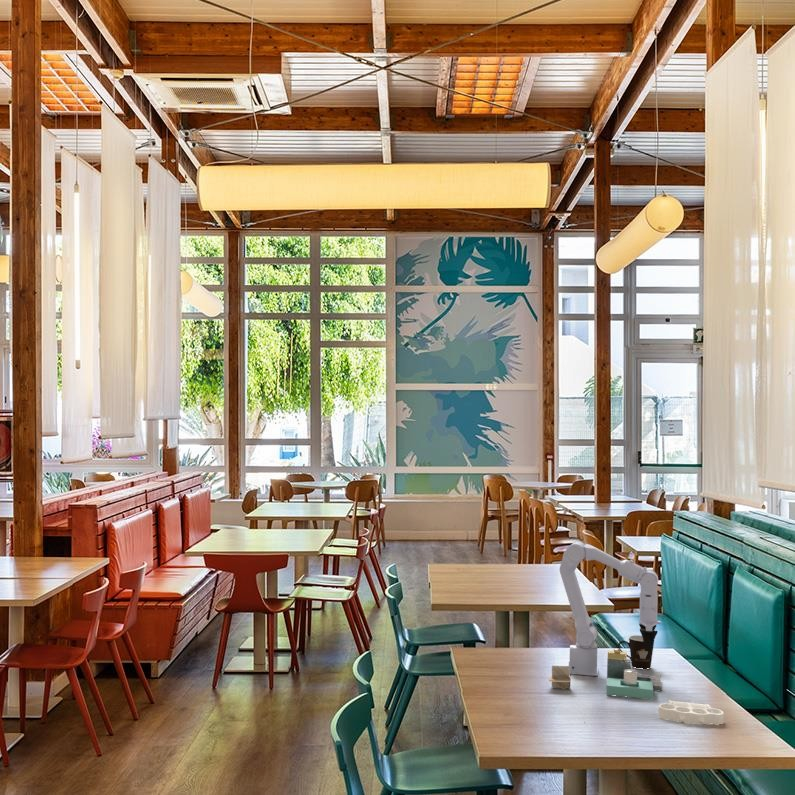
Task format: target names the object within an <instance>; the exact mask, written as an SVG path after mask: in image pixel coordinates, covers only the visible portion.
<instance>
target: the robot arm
mask: <svg viewBox="0 0 795 795" xmlns="http://www.w3.org/2000/svg"><path fill="white" fill-rule="evenodd" d="M584 559H585V561H586V562H587V561H588V562H589V561H597V562H600V563H601V564H604V565H607V566H608V567H610V568H613V569H615V570H616V571H617V573H618V575H619V576H621V577H623V578H625V579H627V580H629V581H630V582H633V583H635V584H639V586H640V592H639V619H638V626H639V632H640V634H641V636H642V637H643V642H644V649H645V651H650V652H651V651H652V648H653V649H654V646H653V643H655V639H656V636H657V635H658V633H659V632H658V630H655V629H656V627H657V625H661V624H662V621H661V620H658V601H659V599H658V597H659V595H658V584H659V577H658V574H657V573H656V571H653V569H650V568H649V569H648V567H646V566H644V567H643V566H641V565H639V564H637V563H634V562H635V561H634V560H633V559H630V560H628V559H623V560H620V559H618V558H616V557H614V556H612V555H611V554H610V553H607V552H605V551H603V550H601V549H599V548H597V547H595V546H593V545H591V544H589V543H585V542H583V541H580V540H576V541H574V542H571V544H570V545H568V547H567V548H566V549H565V550H564V552H563V554H562V559H561V561H560V562H561V563H560V564H559V565H560V566H559V573H560V576H561V580H562V583H563V586H564V590H565V593H566V596H567V600H568V603H569V606H570V608H571V609H570V610H571V612H572V616H573V619H574V629H575V632H576V635H575V641H576V642H575V644H570V645H569V661H568V666H569V675H581V676H592V677H599V668H598V644H597V643H596V640H597V638H598V637H599V636H598V634H599V633H598V632H599V631H598V629H597V628H596V626H594V624H593V622H592V619H591V618H590V616H589V614H588V611H587V606H586V604H585V600H584V597H583V594H582V590H581V588H580V584H579V580H578V578H577V577H578V576H577V575H576V572H575V571H576V569H577V568H578V566H579V563H581V561H583V560H584Z"/></svg>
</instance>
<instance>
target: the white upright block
mask: <svg viewBox="0 0 795 795" xmlns="http://www.w3.org/2000/svg"><path fill="white" fill-rule="evenodd" d="M637 671H638V670H636V669H632V668H631V669H626V670H624V686H633V687H637V674H638V672H637Z"/></svg>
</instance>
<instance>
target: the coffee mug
mask: <svg viewBox="0 0 795 795" xmlns="http://www.w3.org/2000/svg"><path fill="white" fill-rule="evenodd" d="M623 643H625V644H627V647H628V648H629V652H630V655H628V654H627V657H626V658H627V659H628V658H629V660H631V667H632V666H633V667H636V668H643V669H647V668H650V667H651V666H652V660H653V653H654V652H653V651H654V645H655V644H654V643H655V642H654V643H653V648H652V651H651V652H650V651H645V649H644V642H643V637H642V635H639V634H638V635H636V634H635V635H630V636H628V641H626V640H621V641H619V642H618V644H617V647H618V648H617V649H620V652H624V651H623V650H622V649H621V647H620V646H621V644H623ZM633 667H632V668H633ZM636 668H635V669H636ZM650 669H651V668H650ZM647 670H648V669H647Z"/></svg>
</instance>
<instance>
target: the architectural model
mask: <svg viewBox="0 0 795 795" xmlns="http://www.w3.org/2000/svg"><path fill="white" fill-rule="evenodd" d="M547 679H548V682H550V683H551V688H552V687H553V688H554V687H555V688H554V689H562V690H564V689H565V690H566V689H569V690H571V682H572V678H571V676H570V673H569V665H568V666H567V665H552V666H551V677H548V678H547ZM553 688H552V689H553Z"/></svg>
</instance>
